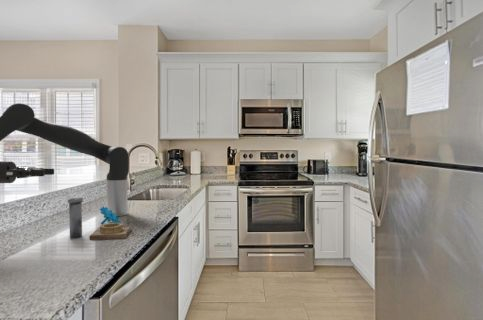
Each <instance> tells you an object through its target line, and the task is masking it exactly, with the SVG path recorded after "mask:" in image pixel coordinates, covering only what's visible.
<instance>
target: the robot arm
mask: <svg viewBox="0 0 483 320" xmlns="http://www.w3.org/2000/svg"><path fill="white" fill-rule="evenodd" d="M2 113H3V114H2V115H1V116H0V142H2V141H3V140H5V138H7V137H8V136H9V135H10V134H12V133H13V132H16V131H17V132H21V133H24V134H27V135H32V136H35V137H38V138H41V139H43V140H45V141H48V142H49V143H50V142H51V143H53V144H56V145H58V146H61V147H64V148H65V149H68V150H71V151H74V152H77V153H80V154H83V155H87V156H91V157H94V158H96V159H98V160H100V161H102V162H104V163H106V164H108V165H109V170H108V172H107V174H106V207H107V208H108V211H109V210H112V213H114V212H115V213H116V217H122V216H126V215H128V175H129V170H130V166H129V165H130V157H129V153H128V151H127V149H126V148H125V147H122V146H112V145H109V144H105V143H102V142H100V141H97V140H95V139H94V138H93V137H92V136H90V135H88V134H87V133H86V132H83V131H81V130H79V129H76V128H74V127H72V126H68V125H65V124H60V123H54V122H53V123H52V122H49V121H48V122H47V121H44V120H42V119H40V118H38V117H35V115H36V114H35V112H34V109H33V108H32V107H31V106H29V105H28V104H26V103H22V102H21V103H19V102H17V103H14V104H11V105H10V106H8V107H7V108H6V109H5V111H4V112H2ZM48 175H50V176H52V175H55V169H54V168H43V167H36V166H17V164H16V163H15V162H13V161H0V184H12V183H15V181H16V179H27V178H32V177H45V176H48Z"/></svg>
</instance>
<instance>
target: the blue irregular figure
mask: <svg viewBox="0 0 483 320" xmlns="http://www.w3.org/2000/svg"><path fill="white" fill-rule="evenodd" d="M99 210H100V214H101V215H103V218H104V219H103V220H102V221H101V222H100V224H101V225H103V224H106V222H107V223H121V221H120V220H119V216H116V213H115V212H114V213H112V210H109V211H108V208H107V206H106V207H105V206H102V207H100V209H99ZM111 221H112V222H111Z"/></svg>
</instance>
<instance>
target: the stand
mask: <svg viewBox="0 0 483 320" xmlns="http://www.w3.org/2000/svg"><path fill="white" fill-rule="evenodd" d="M123 225H124V224H123V223H121V222H119V223H112V222H107V223H104V224H103V225H102V224H101V225H99V227H97V228H96V229H95V230H94V231H93V232H92V233H90V235H89V240H90V241H95V240H112V239H114V240H115V239H116V240H117V239H126V238H127V237H128V236H129V233H130V232H131V229H132V226H131V225H124V226H123Z"/></svg>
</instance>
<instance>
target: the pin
mask: <svg viewBox="0 0 483 320" xmlns="http://www.w3.org/2000/svg"><path fill="white" fill-rule="evenodd" d="M83 199H84V198H83V197H71V198H68V199H67V204H68V206H69V207H68V209H69V210H68V215H69V216H68V217H69V219H68V220H69V221H68V222H69V239H73V240H74V239H80V238H82V237H83V216H82V215H83V214H82V211H83V210H82V209H83V208H82V207H83V206H82V205H83V204H82V203H83V202H84V200H83Z"/></svg>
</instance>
